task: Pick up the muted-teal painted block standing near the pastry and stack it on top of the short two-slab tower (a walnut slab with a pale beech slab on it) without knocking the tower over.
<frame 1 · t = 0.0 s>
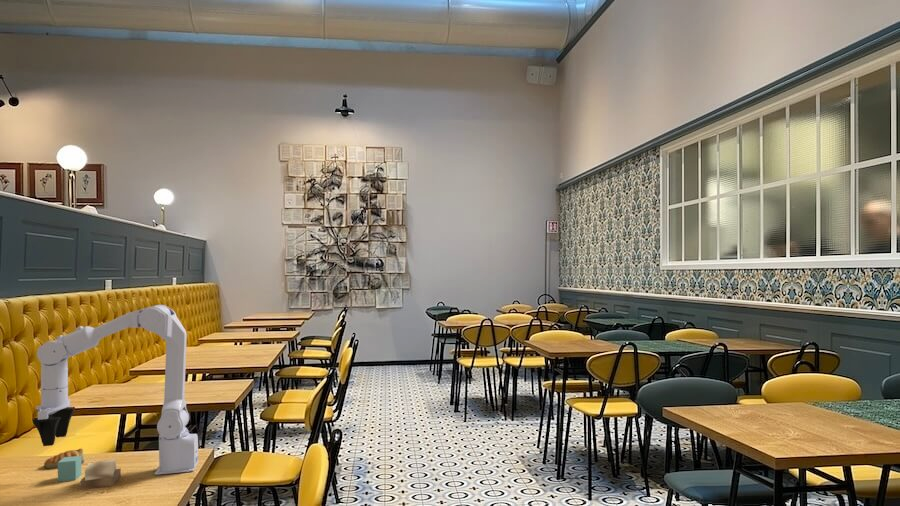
hand: (54, 441, 148), 10 cm above the table, tool pointing down, fingers open, 7 cm apart
teal block: (69, 478, 149), on the table
tower base: (101, 484, 145), on the table, touching tower top
pastry: (67, 465, 160), on the table
tower top: (100, 474, 145), point 2 cm above the table, touching tower base
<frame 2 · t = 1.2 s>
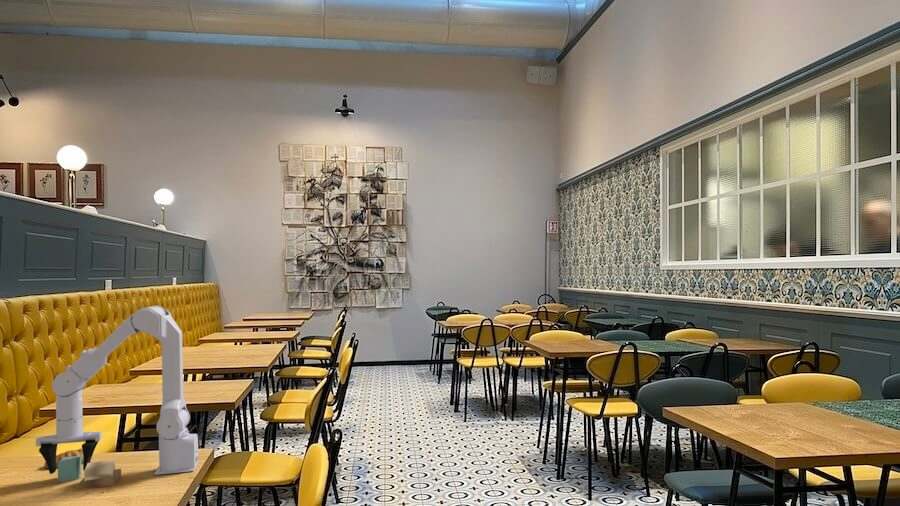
hand: (69, 471, 149), 2 cm above the table, tool pointing down, fingers open, 7 cm apart
nothing on the table moved.
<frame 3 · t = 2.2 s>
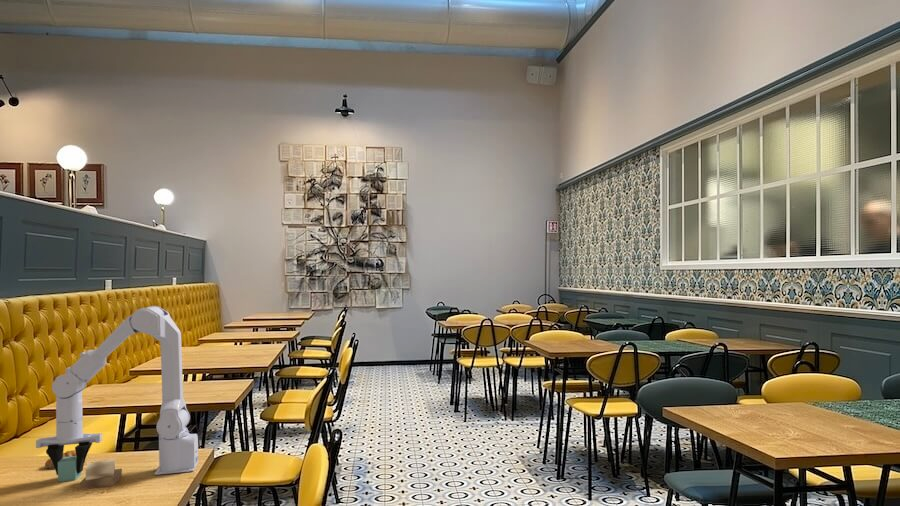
hand: (69, 472, 149), 1 cm above the table, tool pointing down, fingers closed on teal block, 4 cm apart
teal block: (69, 478, 149), on the table, touching gripper
tower base: (102, 484, 146), on the table
tower top: (100, 474, 146), point 2 cm above the table
everything else where it was.
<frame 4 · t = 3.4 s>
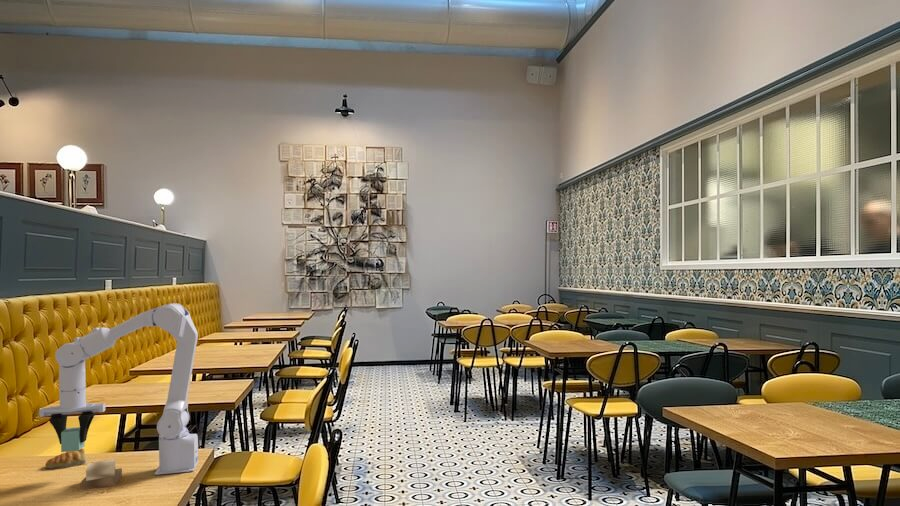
hand: (73, 442, 149), 9 cm above the table, tool pointing down, fingers closed on teal block, 4 cm apart
teal block: (73, 448, 149), point 8 cm above the table, touching gripper
everything else where it was.
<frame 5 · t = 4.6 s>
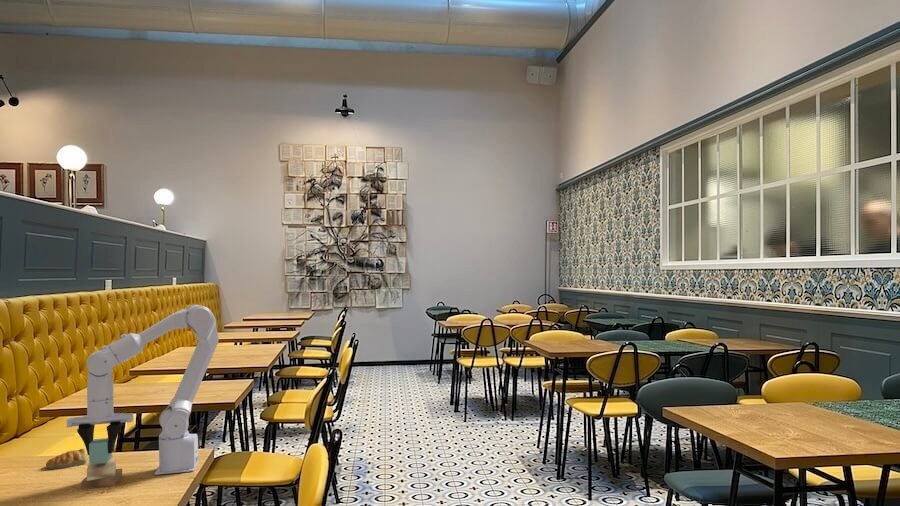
hand: (100, 452, 146), 7 cm above the table, tool pointing down, fingers closed on teal block, 4 cm apart
teal block: (100, 460, 146), point 5 cm above the table, touching gripper
everything else where it was.
when the fingers open (7 cm above the table, at t = 5.2 s): teal block drops 1 cm, point 4 cm above the table.
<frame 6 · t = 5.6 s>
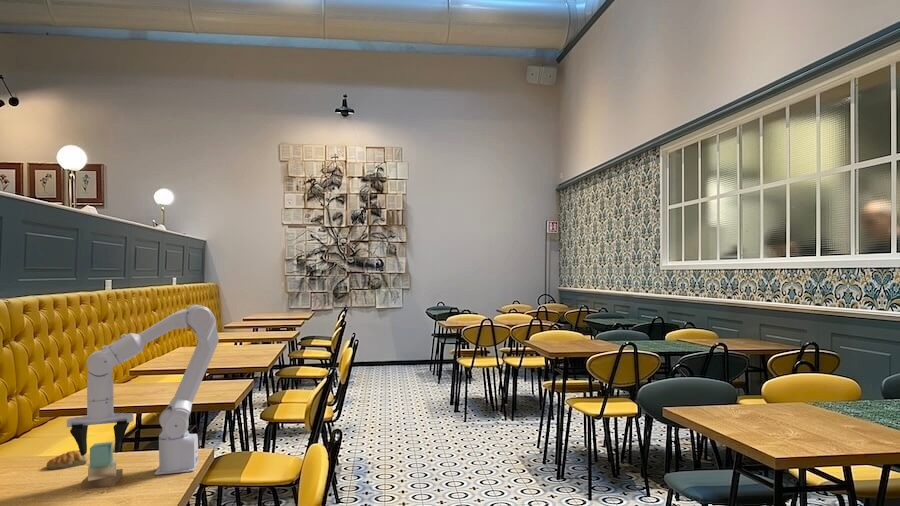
hand: (100, 452, 146), 7 cm above the table, tool pointing down, fingers open, 7 cm apart
teal block: (101, 464, 146), point 4 cm above the table
tower base: (102, 484, 146), on the table, touching tower top
tower top: (102, 474, 146), point 2 cm above the table, touching tower base
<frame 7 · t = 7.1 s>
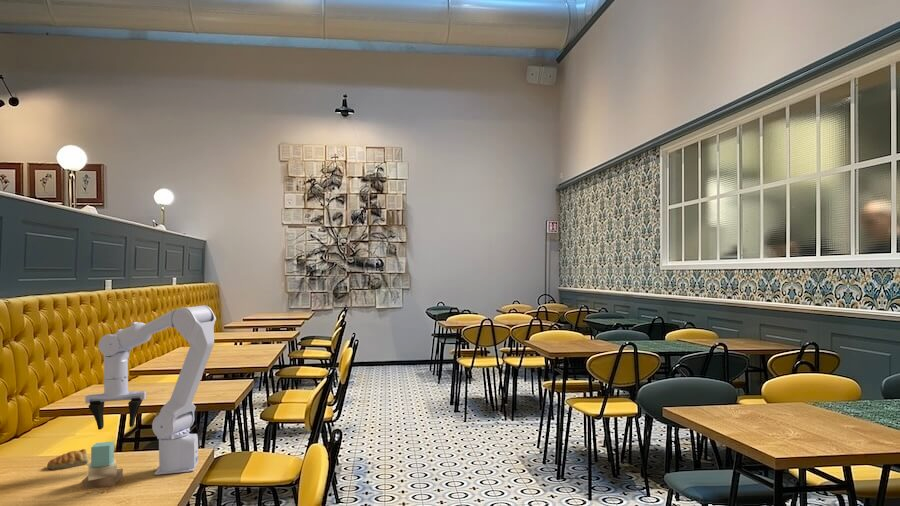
hand: (116, 427, 158), 10 cm above the table, tool pointing down, fingers open, 7 cm apart
teal block: (102, 464, 146), point 4 cm above the table, touching tower top
tower top: (102, 474, 146), point 2 cm above the table, touching teal block, tower base
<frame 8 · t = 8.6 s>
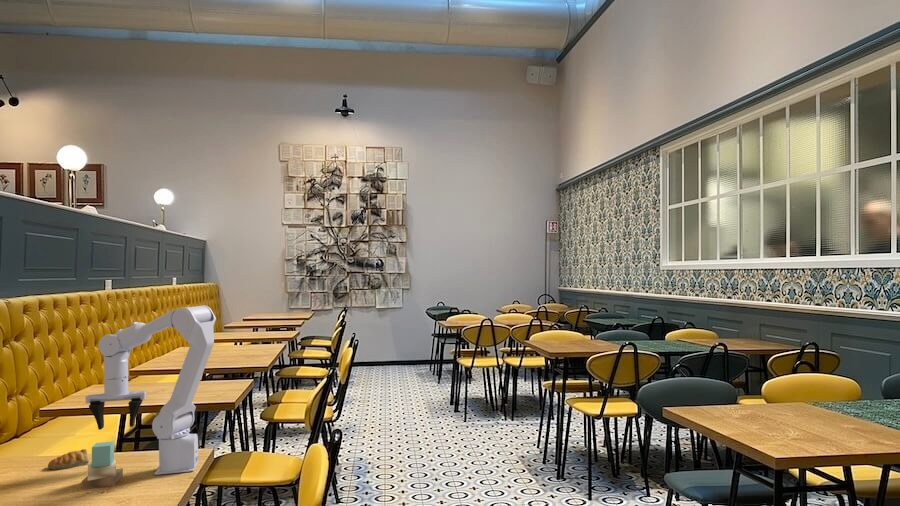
hand: (116, 427, 158), 10 cm above the table, tool pointing down, fingers open, 7 cm apart
teal block: (102, 464, 146), point 4 cm above the table
tower top: (102, 474, 146), point 2 cm above the table, touching tower base
at the end: teal block 0.2 cm off-centre on the tower top, point 2.5 cm above the tower top's base; teal block tilted 1°; tower top moved 0.6 cm from its start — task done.
